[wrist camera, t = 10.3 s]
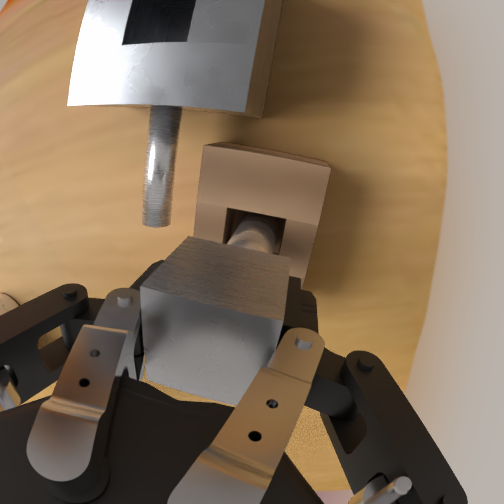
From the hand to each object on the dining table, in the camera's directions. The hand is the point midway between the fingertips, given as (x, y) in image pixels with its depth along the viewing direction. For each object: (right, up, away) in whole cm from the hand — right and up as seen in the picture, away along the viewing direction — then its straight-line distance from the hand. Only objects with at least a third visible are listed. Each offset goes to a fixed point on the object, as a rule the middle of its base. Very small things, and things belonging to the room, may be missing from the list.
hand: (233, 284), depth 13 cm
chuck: (-3, +12, +5) cm, 14 cm away
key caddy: (+1, +4, +8) cm, 9 cm away
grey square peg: (+1, +3, +7) cm, 7 cm away
